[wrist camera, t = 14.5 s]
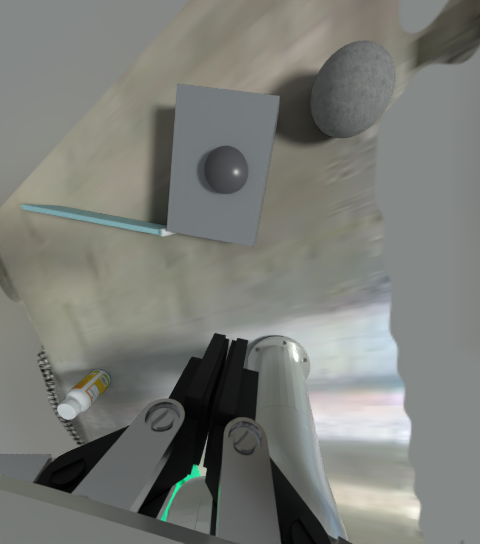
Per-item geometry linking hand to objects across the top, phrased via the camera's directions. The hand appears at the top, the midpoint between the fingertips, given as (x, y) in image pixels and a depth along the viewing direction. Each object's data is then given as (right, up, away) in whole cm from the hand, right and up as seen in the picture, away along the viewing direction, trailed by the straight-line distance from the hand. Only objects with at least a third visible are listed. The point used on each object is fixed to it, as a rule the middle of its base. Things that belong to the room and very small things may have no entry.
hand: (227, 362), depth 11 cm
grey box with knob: (-2, +21, +28) cm, 35 cm away
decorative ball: (+16, +29, +24) cm, 41 cm away
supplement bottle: (-33, -21, +44) cm, 59 cm away
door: (-23, +15, +33) cm, 42 cm away
